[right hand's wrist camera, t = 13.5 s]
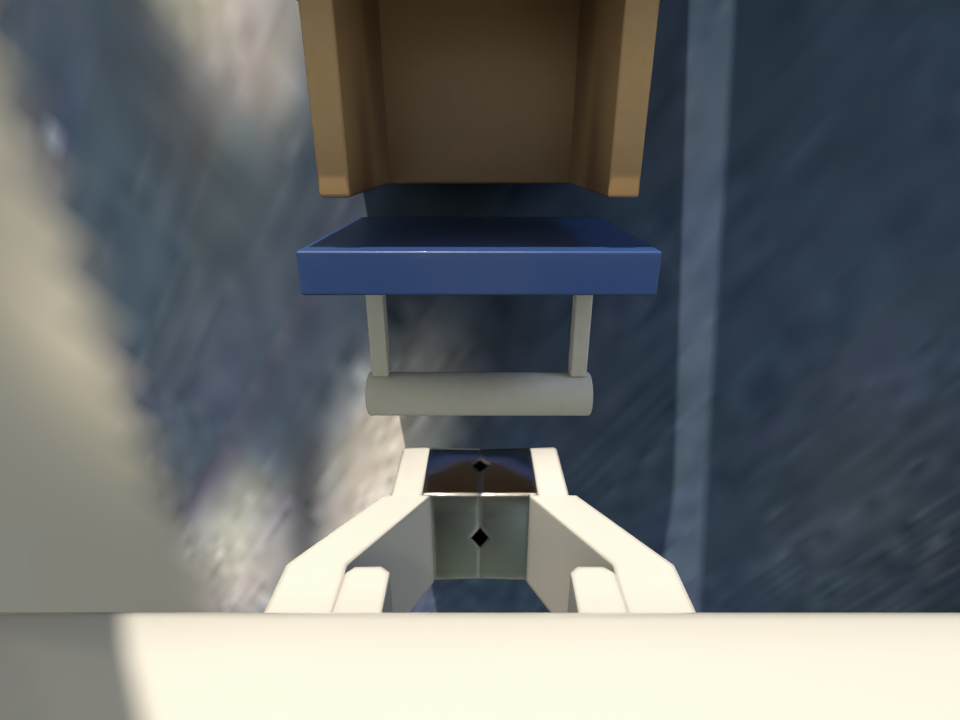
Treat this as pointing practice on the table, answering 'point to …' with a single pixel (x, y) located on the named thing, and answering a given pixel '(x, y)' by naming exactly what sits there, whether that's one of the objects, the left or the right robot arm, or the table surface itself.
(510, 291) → the drawer
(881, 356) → the table surface
